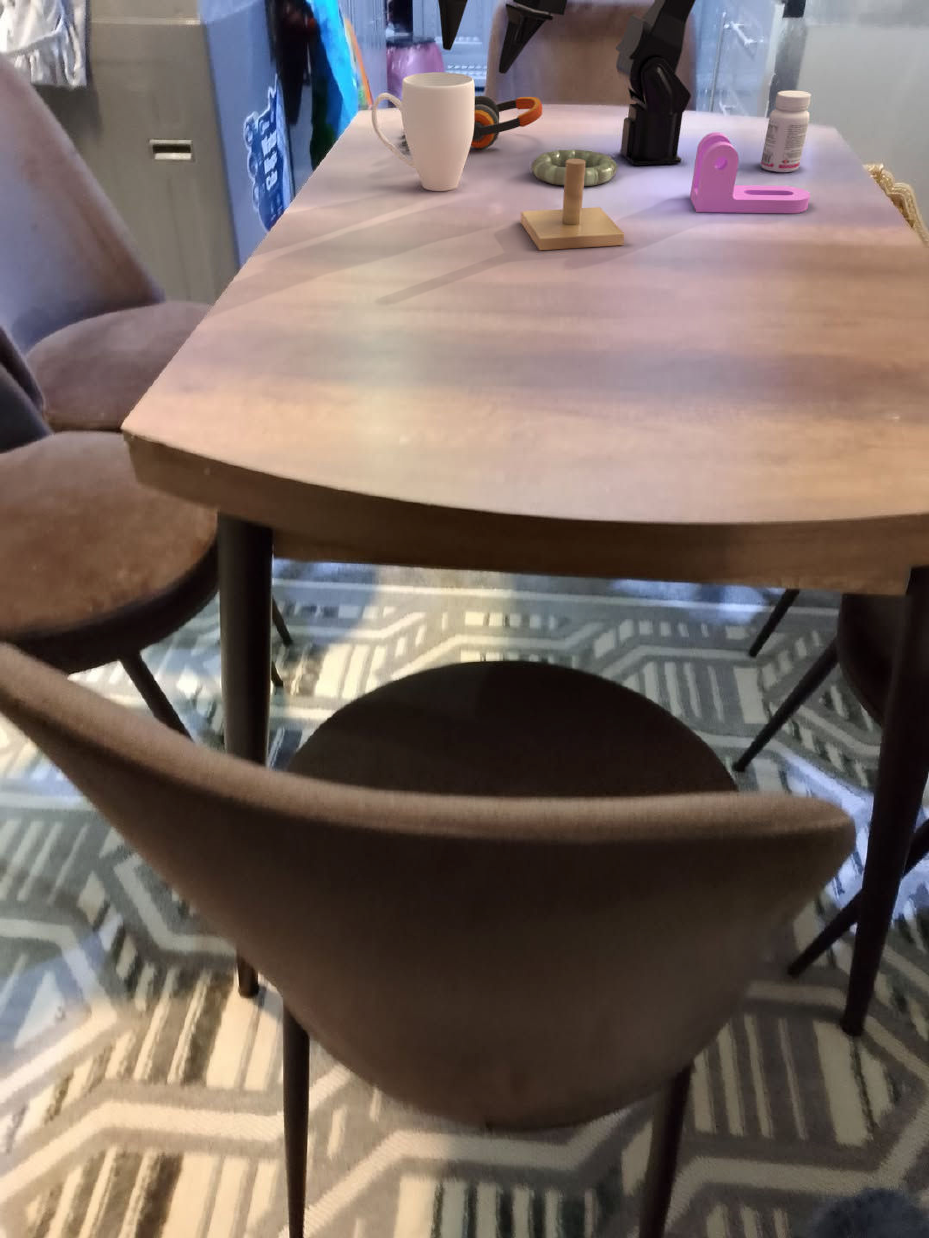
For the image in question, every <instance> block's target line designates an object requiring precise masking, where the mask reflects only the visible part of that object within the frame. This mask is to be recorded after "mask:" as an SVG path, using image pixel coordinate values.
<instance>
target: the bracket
mask: <svg viewBox="0 0 929 1238" xmlns="http://www.w3.org/2000/svg"><path fill="white" fill-rule="evenodd" d="M695 156H696V157H695V161H694V168H693V173H692V179H691V180H692V181H691V186H690V187H691V188H690V193H689V198H690V201H691V203H692V205H693V208H694V210H695V212H696V213H734V214H735V213H738V214H739V213H740V214H742V213H743V214H749V213H750V214H798V213H799V214H800V213H803V212H805V211H807V210H808V207H809V204H810V203H809V202H810V198H811V193H810V192H809V191H807V190H805V189H803V188H799V187H796V186H790V185H762V184H761V185H758V184H757V185H752V184H751V185H749V184H748V185H747V184H736V179H737V173H738V169H739V168H738V167H739V163H740V161H739V160H740V159H739V155H738V152H737V150H736V149H735V147H734V146H733V145H732V143H731V141H730V139H729V138H728V137H727V135H725V134H724V133H722V132H718V131H713V132H709V133H708V134H706V135H705V136H703V138H702V139H701V140H700V142H698V145H697V149H696V154H695Z"/></svg>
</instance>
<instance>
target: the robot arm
mask: <svg viewBox="0 0 929 1238" xmlns="http://www.w3.org/2000/svg"><path fill="white" fill-rule="evenodd" d="M468 1H469V0H437V2H438V10H439V18H440V21H439V22H440V30H441V41H442V42H441V44H442V49H443V50H445V51H451V50H452V48H453V45H454V43H455V40H456V38H457V35H458V32H459V29H460V25H461V23H462V21H463V17H464V13H465V11H466V7H467V5H468ZM696 1H697V0H654V1H653V3H652V5H651V6H650V7H649V8H648V10H647V11H646V12H645V13H644V15H643V16H642V17H639V16H638V15H636V14H633V13H632V14H630V16H629V18H628V21H627V24H626V28H625V32H624V35H623V36H622V38H621V40H620V42H619V43H618V44H617V45H616V46H615V50H616V51H617V52H618V55H617V59H616V64H615V65H616V66H615V68H616V71H617V75H618V78H619V79H620V81H621V82H622V84H623V85H624V86H626V87H627V90H628V91H627V92H628V95H629V99H630V100H631V101H633V102H635V103H629V104H628V113H627V116H626V117H624V119H623V123H622V133H621V134H622V135H621V143H620V144H621V146H620V149H619V154H620V155H622V156H623V157H624V158H625V159H626V160H627V161H628V162H630V164H632V165H634V166H643V165H645V166H646V165H665V164H667V165H668V164H680V163H682V158H681V157H680V156H679V155H678V151H679V150H678V149H679V143H680V135H681V127H682V121H683V116H684V115H683V113H684V112H685V111H686V109H687V106H688V104H689V102H690V99H691V98H692V96H691V95H692V94H691V93H690V91H689V90H688V89H687V87H686V86H685V85H684V83H683V82H682V80H681V79H680V78H679V77H678V75H677V74H676V73H677V69H678V68H679V67H678V66H679V64H680V60H681V56H682V54H683V49H684V42H685V35H686V27H687V22H688V19H689V16H690V14H691V12H692V9H693V7H694V5H695V3H696ZM512 2H513V3H515V4H516V5H515V4H510V3H505V9H506V14H507V20H508V21H507V27H506V31H505V35H504V39H503V43H502V48H501V53H500V57H499V64H498V73H499V74H504V75H505V74H507V73H508V71H510V68H511V67H512V66H513V65H514V63H515V62H516V60H517V59H518V57H519V55H520V54H521V53H522V52H523V50H524V49H525V47H526V46H527V45H528V43H530V41H531V39H532V38H533V37H534V35H535V34H536V33H537V32H538V31H539V30H540V29H541V27H543V25H544V24H545V23H546V22H547V21H551V22H552V21H553V20H554V18H555V16H554V15H553V14H555V15H559V16H565V11H566V8H567V3H568V0H512Z"/></svg>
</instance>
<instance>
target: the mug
mask: <svg viewBox="0 0 929 1238" xmlns="http://www.w3.org/2000/svg"><path fill="white" fill-rule="evenodd" d="M475 92H476V91H475V80H474V78H473V77H472V76H470V75H467V74H463V73H459V72H458V73H457V72H446V71H445V72H441V71H436V72H433V71H432V72H421V73H414V74H410V75H407V76H406V77H404V78H403V79H402V82H401V99H399V98H398V97H397V96H394V95H393V94H391V93H388V92H382V93H380V94H379V95H377V96H376V98H375V99H374V101H373V103H372V108H371V123H372V127H373V130H374V133H375V135H376V136H377V137H378V139H379V140H380V141H381V142H382V143H383V144H384V145H385V147H387V148H388V150H389V151H391V153H393V154H394V155H395V156H396V157H398V159H400V160H401V161H402V162H404V163H405V164H406V165H408V166H410V167H412V168H413V169H415V171H416V173H417V175H418V178H419V180H420V183H421V186H422V187H423V189H425V190H428V191H433V192H448V191H452V190H455V189H456V188H458V186H459V183H460V181H461V177H462V174H463V170H464V168H465V164H466V162H467V158H468V155H469V153H470V150H471V147H472V146H471V142H472V138H473V132H474V101H475V96H476V94H475ZM384 100H388V101H389V102H391V103H392V104H393V105H394V106H395V107H396V109H398V110H399V111H400V114H401V120H402V121H401V122H402V127H403V132H404V133H403V134H404V135H405V137H406V138H405V141H407V144H408V145H407V147H409V150H410V151H409V153H410V156H411V158H409V157H407V156H405V155H404V154H403V153H402V152H401V151H400V150H399V149H398V148H397V147H395V146H394V144H392V143H391V141H390V140H388V138H387V137H386V136H385V134H383V132H382V131H381V128H380V126H379V121H378V107H379V104H380V103H381V102H382V101H384Z"/></svg>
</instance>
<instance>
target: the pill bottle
mask: <svg viewBox="0 0 929 1238" xmlns="http://www.w3.org/2000/svg"><path fill="white" fill-rule="evenodd" d="M811 97H812V94H811V93H810V92H807V91H801V90H782V91H778V92H777V93H776V97H775V103H774V106H775V107H776V108H775V109H773V110H772V111H771V112H770V115H769V118H768V124H767V130H766V134H765V139H764V144H763V149H762V155H761V160H760V167H761V169H763V170H765V171H769V172H776V173H791V172H794V171H797V170H798V169H799V168H800V164H801V159H802V154H803V150H804V146H805V145H804V144H805V140H806V136H807V132H808V126H809V121H810V112H808V110H807V109H809V107H810V102H811Z"/></svg>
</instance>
